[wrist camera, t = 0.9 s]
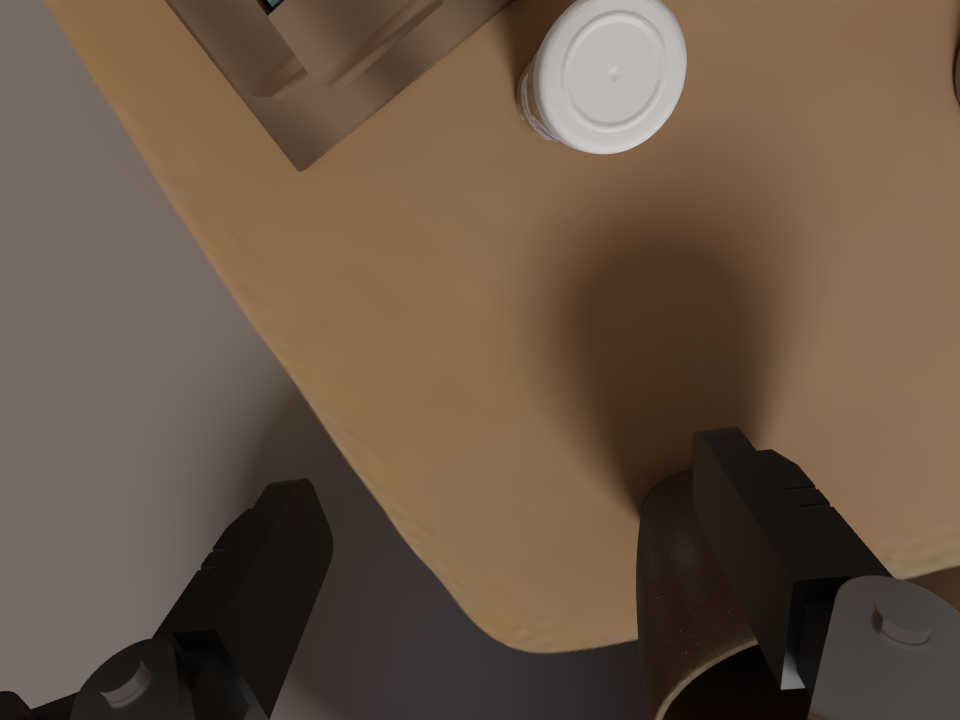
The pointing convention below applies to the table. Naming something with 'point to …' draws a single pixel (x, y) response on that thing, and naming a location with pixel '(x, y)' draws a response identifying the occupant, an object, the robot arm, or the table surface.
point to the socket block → (326, 57)
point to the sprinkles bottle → (604, 75)
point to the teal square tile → (275, 3)
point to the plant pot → (697, 624)
